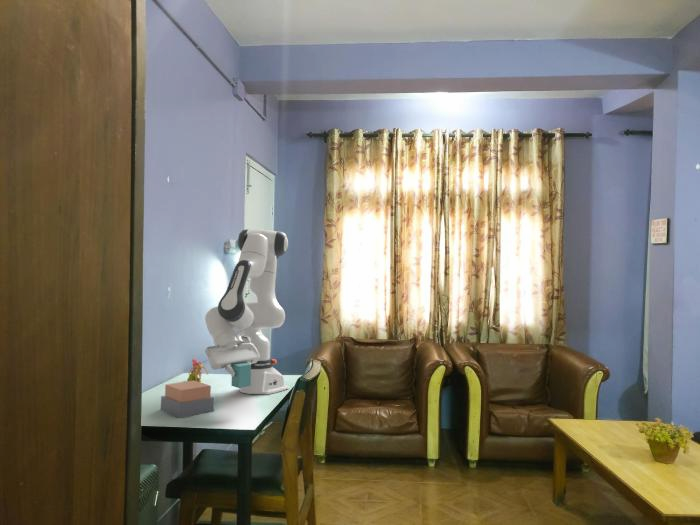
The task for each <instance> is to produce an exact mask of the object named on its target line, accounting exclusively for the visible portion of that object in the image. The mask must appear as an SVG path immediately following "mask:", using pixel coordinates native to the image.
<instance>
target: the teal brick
mask: <svg viewBox="0 0 700 525" xmlns="http://www.w3.org/2000/svg"><path fill="white" fill-rule="evenodd" d="M231 368H232V369H233V370H236V372H237V375H236V376H234V377H232V376H231V387H234V388H237V389H240V388H243V387H248V386H251V364H247V363H244V362H243V363H236V364H232V367H231Z"/></svg>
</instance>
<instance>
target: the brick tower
mask: <svg viewBox="0 0 700 525" xmlns="http://www.w3.org/2000/svg"><path fill="white" fill-rule="evenodd" d="M211 388H212V386H211V385H209V384H207V383H203V382H202V381H201V382H197V381H183V382H182V381H181V382H174V383H168V384H165V388H164V390H165V391H164V392H165V394H164V395H162V396H160V411H162V412H165V413H167V414H169V415H172V416H174V417H176V418H180V419H181V418H184V417H190V416H196V415H200V413H201V414H206V413H211V411H212V412H214V411H215V410H214V408H215V407H214V406H215V405H214V404H215V397H213V396H211ZM205 412H206V413H205Z"/></svg>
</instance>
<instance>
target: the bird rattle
mask: <svg viewBox="0 0 700 525" xmlns="http://www.w3.org/2000/svg"><path fill="white" fill-rule="evenodd" d="M191 362H192V368H193V367H195V366H197V365H198V363H200V364H201V365H202V362H201V361H199V362H198V361H197V359H194V358H193V359H192V361H191ZM195 372H197V368H193V369H192V371H191V372H190V374H188V375H189V376H188V377H187V381H196V379H195V374H196V373H195ZM187 381H186V382H187ZM197 382H199V375H198V376H197ZM200 382H201V383H202V380H201V379H200Z"/></svg>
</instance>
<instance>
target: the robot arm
mask: <svg viewBox="0 0 700 525" xmlns="http://www.w3.org/2000/svg"><path fill="white" fill-rule="evenodd" d="M237 246H238V250H240V255H239V257H238V258H239V259H238V262H236V265H235V267H234V269H233V271H232V274H231V277H230V280H229V283H228V285H227V288H226V290H225V293H224V294H223V296H222V297H221V298H220V300H219V301H218V305H217V306H215V307H212V308H211V309H209V310H208V311H207V313H206V314H205V315H204V320H205V325H206V329H207V330H208V333H209V335H210V336H211V337H212V339H213V345H212V346H211V345H209V346H207V348H205V350H204V352H205V355H206V356H207V360H208V364H209V365H210V368H211V369H212V370H221V369H225V371H227V372H228V373H229V374H230V375H231V378H232V377H234V376H236V375H237V372H236V370H233V369H232V364H236V363H243V362H244V363H247V364H251V386H248V387H243V388H239V390H238V391H239V392H241V393H243V394H247V395H272V394H275V393H278V392H282V391H287V390H289V389H290V387H289V385H288V384H285V380H284V379H285V378H284V376H283V374H282V373H281V372H279V370H277V369H276V368H274V367H273V365H277V363H278V361H277V359H275V358H273V359H271V358H270V357H271V356H270V351H271V350H270V349H271V342H270V340H269V339H268V337H266V336H265V335H264V333H263V332H262V329H269V330H271V329H277V328H280V327H282V325H284V323H285V320H286V313H285V312H286V311H285V310H284V308H283V307H282V306H281V305H280V304H279V301H278V299H277V295H276V279H277V278H276V277H277V268H278V267H277V266H278V263H277V262H278V261H277V260H278V259H279V258H280V257H281V256H283V255H285V253H286V252H287V250H288V247H289V240H288V235H287V234H286V233H285V232H283V231H281V230H280V231H279V230H277V231H275V230H271V229H251V228H250V229H249V228H248V229H243V230H241V232H239V234H238V237H237ZM249 279H250V281H249V289H250V291H251V292H252V293H253V294H255V296H256V298H257V302H248V301H247V302H245V299H244V293H245V289H246V286H247V283H248V280H249ZM240 332H241V334H242V335H241V334H238V333H240ZM286 389H287V390H286Z"/></svg>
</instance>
